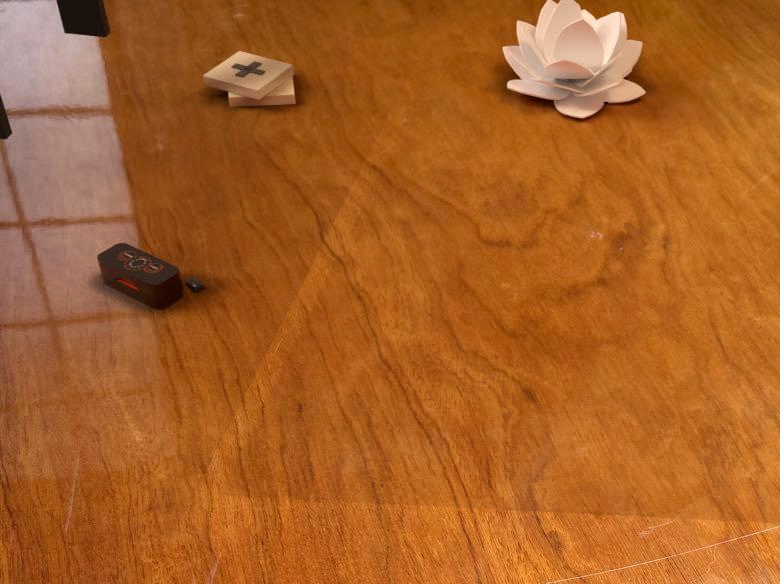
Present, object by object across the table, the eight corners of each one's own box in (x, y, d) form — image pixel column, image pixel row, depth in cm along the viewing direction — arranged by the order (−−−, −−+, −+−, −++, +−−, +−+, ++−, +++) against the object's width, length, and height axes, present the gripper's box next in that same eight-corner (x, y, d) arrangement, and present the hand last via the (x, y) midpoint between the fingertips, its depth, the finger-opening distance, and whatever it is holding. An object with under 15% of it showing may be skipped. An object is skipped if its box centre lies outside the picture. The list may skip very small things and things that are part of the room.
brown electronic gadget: (171, 327, 86) (163, 290, 84) (103, 294, 89) (93, 257, 86) (215, 298, 89) (209, 261, 87) (148, 266, 92) (139, 230, 89)
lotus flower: (640, 54, 122) (654, -28, 115) (644, 140, 113) (659, 57, 106) (503, 42, 121) (508, -42, 114) (496, 127, 112) (501, 43, 105)
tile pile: (201, 114, 109) (196, 81, 107) (229, 77, 114) (224, 46, 112) (290, 124, 108) (286, 92, 106) (313, 88, 113) (310, 56, 111)
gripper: (-161, -308, 45) (3, 192, 60) (101, -405, 62) (177, 3, 77) (-342, -322, 45) (-135, 177, 61) (-33, -415, 63) (68, -8, 78)
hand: (40, 80), depth 69 cm, fingers open, 13 cm apart
